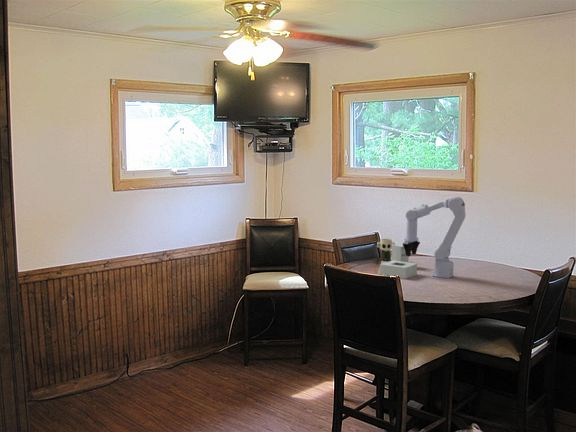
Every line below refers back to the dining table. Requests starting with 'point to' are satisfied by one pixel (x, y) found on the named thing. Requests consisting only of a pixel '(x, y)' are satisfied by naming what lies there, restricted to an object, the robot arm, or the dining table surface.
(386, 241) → the character mug
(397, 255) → the supplement box
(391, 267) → the white square ring
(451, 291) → the dining table surface
